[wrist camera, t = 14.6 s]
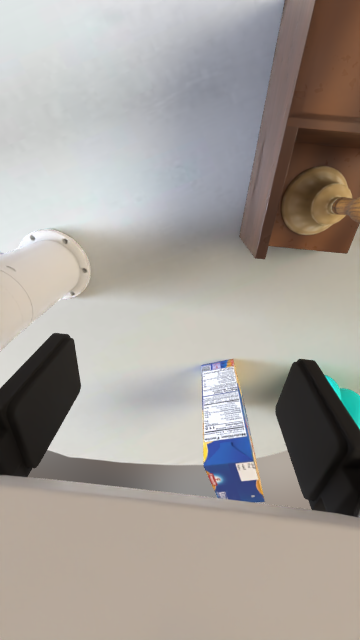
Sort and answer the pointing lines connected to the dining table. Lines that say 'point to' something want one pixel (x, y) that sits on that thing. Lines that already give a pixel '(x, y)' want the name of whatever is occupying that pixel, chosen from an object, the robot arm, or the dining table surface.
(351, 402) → the donuts
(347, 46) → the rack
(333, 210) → the hand bell
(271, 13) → the dining table surface
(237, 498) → the beverage box
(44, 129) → the dining table surface
